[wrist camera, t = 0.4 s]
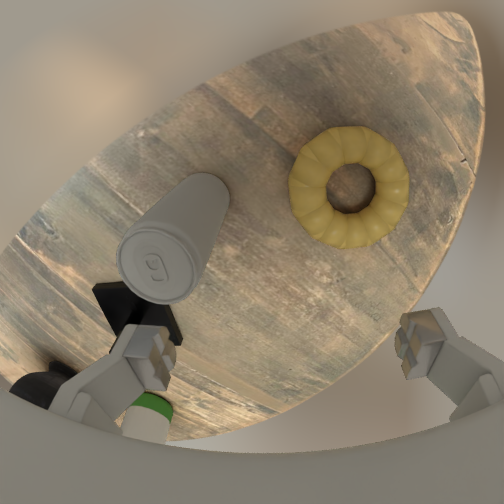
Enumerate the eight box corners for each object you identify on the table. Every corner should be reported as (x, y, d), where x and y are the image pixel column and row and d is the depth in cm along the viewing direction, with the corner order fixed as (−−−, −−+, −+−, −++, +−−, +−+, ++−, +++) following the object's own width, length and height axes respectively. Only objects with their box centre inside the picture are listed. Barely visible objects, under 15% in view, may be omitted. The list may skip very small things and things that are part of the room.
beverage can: (225, 166, 23) (185, 218, 12) (235, 219, 25) (209, 304, 15) (172, 176, 24) (101, 233, 13) (185, 226, 26) (132, 308, 15)
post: (96, 283, 30) (66, 321, 24) (159, 278, 29) (133, 323, 22) (124, 338, 34) (103, 377, 28) (183, 339, 33) (168, 384, 27)
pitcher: (31, 331, 37) (-43, 454, 11) (127, 388, 41) (76, 536, 14) (41, 374, 45) (-10, 472, 19) (118, 418, 48) (82, 528, 22)
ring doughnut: (280, 130, 21) (281, 132, 19) (398, 124, 20) (414, 127, 17) (294, 244, 26) (296, 260, 23) (398, 233, 25) (410, 247, 22)
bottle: (135, 405, 44) (92, 539, 17) (131, 384, 40) (78, 538, 14) (174, 417, 44) (141, 556, 18) (174, 398, 40) (134, 560, 14)
